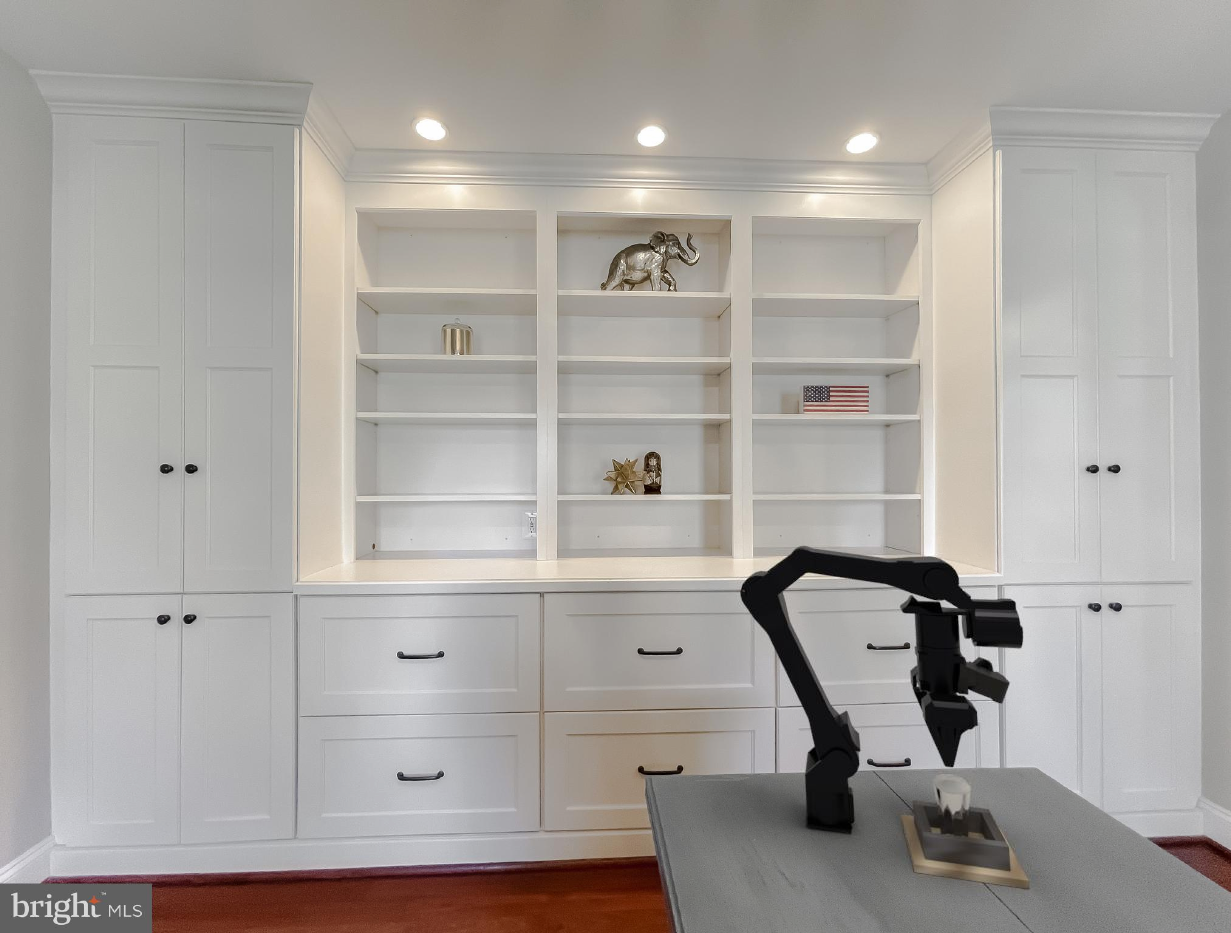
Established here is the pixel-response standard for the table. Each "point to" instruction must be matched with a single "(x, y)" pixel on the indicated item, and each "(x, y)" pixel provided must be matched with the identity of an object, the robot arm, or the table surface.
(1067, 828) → the table surface
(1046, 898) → the table surface
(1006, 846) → the dock
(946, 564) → the robot arm
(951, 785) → the milkshake
